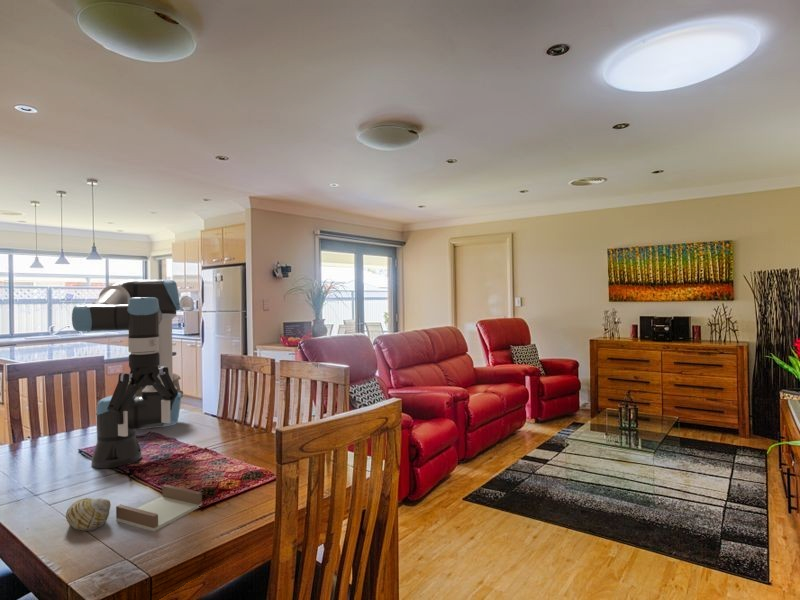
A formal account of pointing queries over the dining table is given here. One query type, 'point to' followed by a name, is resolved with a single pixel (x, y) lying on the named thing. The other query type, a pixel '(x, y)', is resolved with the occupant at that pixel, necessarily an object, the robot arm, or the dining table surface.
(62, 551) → the dining table surface
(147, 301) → the robot arm
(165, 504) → the cradle
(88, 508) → the seashell
